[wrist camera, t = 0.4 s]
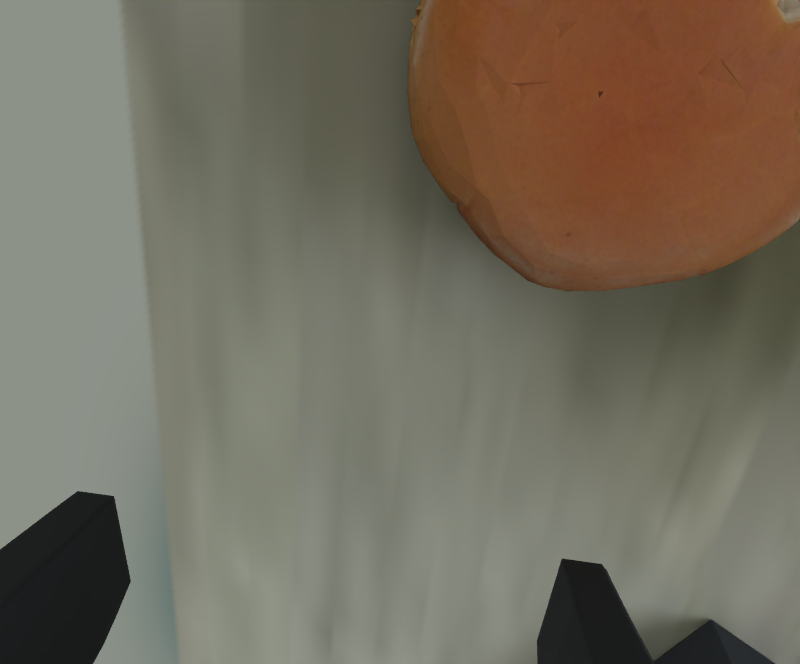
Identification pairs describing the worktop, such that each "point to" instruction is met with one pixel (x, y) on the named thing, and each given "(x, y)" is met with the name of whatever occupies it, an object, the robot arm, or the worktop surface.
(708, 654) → the pad
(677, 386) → the worktop surface
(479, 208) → the burger
